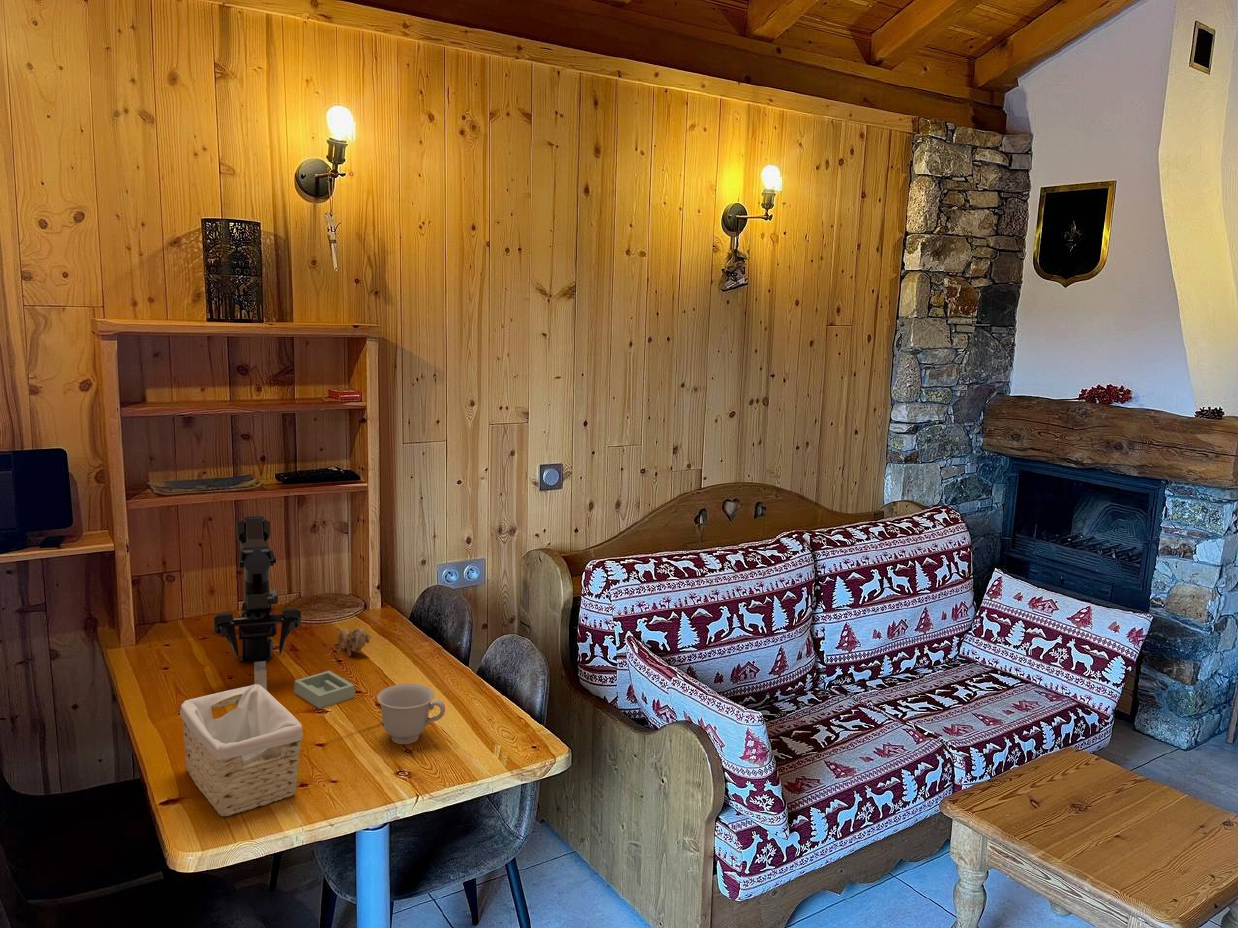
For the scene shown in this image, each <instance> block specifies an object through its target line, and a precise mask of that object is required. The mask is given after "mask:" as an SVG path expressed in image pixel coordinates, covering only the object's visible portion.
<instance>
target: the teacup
mask: <svg viewBox="0 0 1238 928" xmlns="http://www.w3.org/2000/svg"><path fill="white" fill-rule="evenodd" d="M434 698H435V692H434V691H433V690H432V689H431V688H429V687H428V686H425V685H422V684H417V683H401V684H394V685H391V686H389V687H386V688H384V689H382V690H380V692H379V693H378V694H377V696H376V699H377V702H379V705H380V708H381V716H382V722H383V723H382V724H383V727H384V730H385V731H386V733H387V734H388V735H389V736H391V740H392V742H393V743H395V744H397V745H398V744H399V745H409V744H413V743H415V742H416V741H418V740H419V738H420V737H419V736H420V735H421V734H422V733H423V732H424V731H425V729H426V727H427V726H428V724H430V723H432V722H437V721H439V720H441V719H442V718H443V717H444V715H445V713H446V705H445V704H444V702H443V701H442V700H440V699H435V700H434ZM435 706H437V707H439V710H440V712H439V713H438V714H437V715H434V716H432V717H430V718H429V714H430V711H432V710H434V708H435Z"/></svg>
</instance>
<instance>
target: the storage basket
mask: <svg viewBox="0 0 1238 928" xmlns="http://www.w3.org/2000/svg"><path fill="white" fill-rule="evenodd" d="M231 705H237V706H236V707H235V708H234V709H231V710H230V711H227V712H226V713H225V714H224V715H223V716H220V717H219V718H218V717H217V718H214V716H213V713H212V711H213V710H212V709H219V708H222V707H228V706H231ZM179 717H180V718H181V719H182V728H183V742H184V752H185V765H186V770H187V772H188V774H189V776H190V777H191V779H192V780H193V781H194V784H195V786H196V787H198V789H199V791H200V792H201V793H202V794H203V795H204V797H205V798H206V799H207V800H208V802H209V803H210V805H212V806H213V808H214V810H215V811H216V812H217V813H218V815H219V816H221V817H229V816H232V815H235V814H240V812H241V813H243V812H246V811H251V810H253V809H256V808H257V807H262V806H267V805H269V804H271V803H273V802H279V801H281V800H283V799H287V798H290V797H292V796H293V795H295V794H296V793H297V783H298V777H299V765H300V761H299V760H300V752H301V748H302V747H301V746H302V745H301V744H302V740H303V738H304V733H303V725H302V723H301V722H300V721H299V720H298V719H297V718H296V717H295V716H294V715H293V714H292V713H291V712H290V711H289V710H288V709H287V708H286V707H285V706H283V704H281V702H280V701H278V700H277V699H276V698H275V697H274V696H273V695H272V694H271V693H270V692H269V691H268V690H267V691H266V690H265V689H264V688H263V687H262V686H261V685H258V684H255V683H254V684H251V685H248V686H242V687H238V688H233V689H228V690H224V691H220V692H216V693H212V694H207V695H203V696H199V697H195V698H190V699H186V700H184V702H182V703H181V706H180V710H179ZM278 800H279V801H278Z"/></svg>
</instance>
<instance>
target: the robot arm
mask: <svg viewBox="0 0 1238 928" xmlns="http://www.w3.org/2000/svg"><path fill="white" fill-rule="evenodd" d="M271 535H272V533H271V522H270V521H269V520H267V519H265V516H262V515H247V516H244V517H243V520H240V521H238V522H237V523H236V540H237V541H239V549H240V550H241V551H238V552H239V553H238V554H239V555H238V557H239V558H238V559H239V569H241V568H242V570H243V589H244V590H243V592H244V593H243V595H244V599H243V600H244V601H243V603H242V606H241V616H240V615H239V616H238V617H234V615H233V614H234V613H233V612H227V613H226V612H225V613H217V614H215V616H213V617H214V619H213V622H214V634H215V635H220V636H221V638H226V639H227V642H228V643H229V644H230V646H231V649H232V651H233V653H234V654H235V655H234V656H235V658H239V646H238V640H239V641H241V643H242V644H241V651H242V652H241V653H242V655H241V656H242V658H241V659H240V660H239V662H240V663H248V664H249V663H253V664H254V662H261V661H266V663H267V662H268V661H269V660H270V658H271V657H272V656H273V654H274V642H273V639H272V638H275V636H276V635H277V634H278V633H277V630H278V628H277V625H278V624H281V628H280V637H279V638H280V639H279V648H278V649H279V652H278V653H279V654H282V652H283V650H284V647H285V644H286V640H287V638H288V636H289V634H290V633H291V632H295V629H297V628H300V627H301V620H302V613H301V609H299V607H294V608H293V607H292V608H282V614H274V613H272V605H278V604H279V594H278V593H279V592H278V591H279V590H278V589H274V590H272V589H271V584H270V582H271V581H270V579H271V578H270V577H271V567H274V564H277V558H276V557H277V556H276V553H274V551H273V549H270V542H269V540H271ZM236 627H238V638H237V633H236ZM237 639H238V640H237Z"/></svg>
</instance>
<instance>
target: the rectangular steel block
mask: <svg viewBox="0 0 1238 928" xmlns="http://www.w3.org/2000/svg"><path fill="white" fill-rule="evenodd" d="M253 669H254V685H255V684H258V685H261V686H262V687H263V688H264V689H265V690H266V691H268V690H267V688H268V687H267V682H268V680H267V677H268V676H267V662H266V661H261V662H254V663H253Z"/></svg>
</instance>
